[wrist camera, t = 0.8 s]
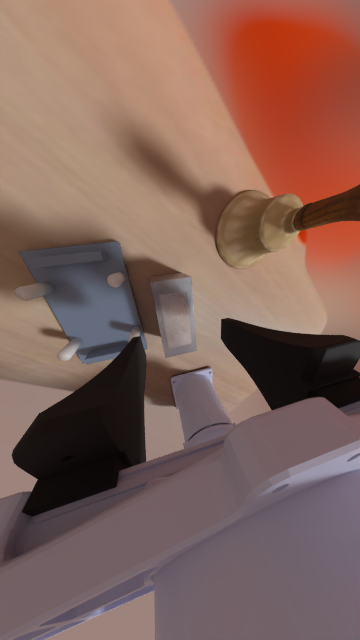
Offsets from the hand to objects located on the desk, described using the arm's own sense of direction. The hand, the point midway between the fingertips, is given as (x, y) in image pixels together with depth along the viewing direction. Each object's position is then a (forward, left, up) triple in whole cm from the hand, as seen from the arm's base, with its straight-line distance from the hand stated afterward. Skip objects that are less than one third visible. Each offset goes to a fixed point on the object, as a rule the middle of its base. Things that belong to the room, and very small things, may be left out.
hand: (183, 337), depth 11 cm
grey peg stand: (+1, +9, -8) cm, 12 cm away
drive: (0, 0, -8) cm, 8 cm away
